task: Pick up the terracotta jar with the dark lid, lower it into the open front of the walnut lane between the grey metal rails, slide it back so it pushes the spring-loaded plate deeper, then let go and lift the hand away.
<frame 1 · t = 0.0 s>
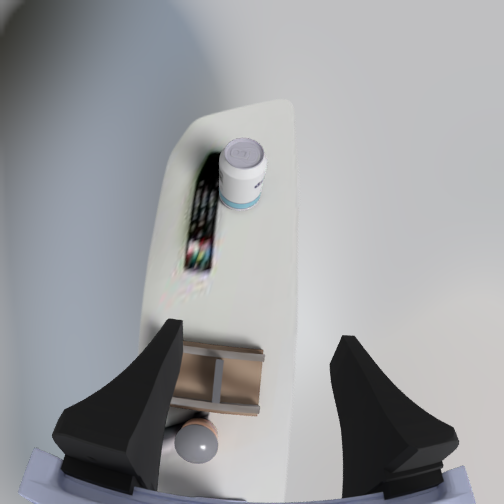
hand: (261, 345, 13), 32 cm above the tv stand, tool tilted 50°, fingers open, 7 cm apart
beverage can: (239, 196, 53), on the tv stand
lane: (211, 378, 42), on the tv stand
pusher plate: (218, 380, 39), point 3 cm above the tv stand, slide at 0.0 cm
jar: (199, 434, 39), on the tv stand
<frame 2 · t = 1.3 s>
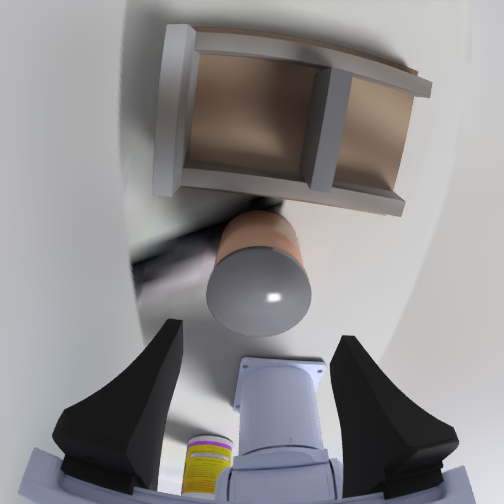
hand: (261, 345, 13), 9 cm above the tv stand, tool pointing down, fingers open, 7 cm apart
lane: (295, 118, 17), on the tv stand
pusher plate: (323, 126, 15), point 3 cm above the tv stand, slide at 0.0 cm
jar: (259, 246, 22), on the tv stand
supplement bottle: (212, 442, 37), on the tv stand
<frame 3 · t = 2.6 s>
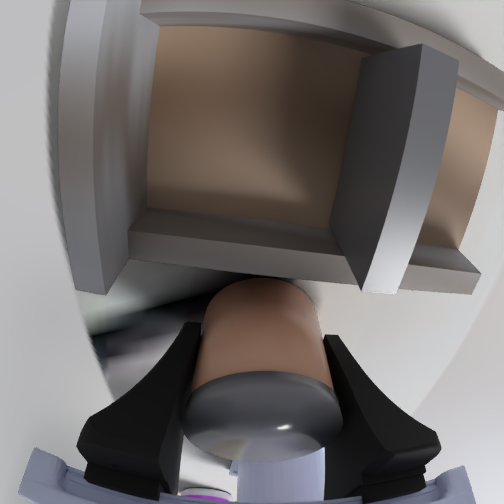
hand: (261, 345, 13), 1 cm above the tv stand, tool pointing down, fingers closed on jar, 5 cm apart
lane: (323, 134, 10), on the tv stand
pusher plate: (383, 158, 8), point 3 cm above the tv stand, slide at 0.0 cm
jar: (260, 324, 15), on the tv stand, touching gripper
supplement bottle: (207, 492, 30), on the tv stand
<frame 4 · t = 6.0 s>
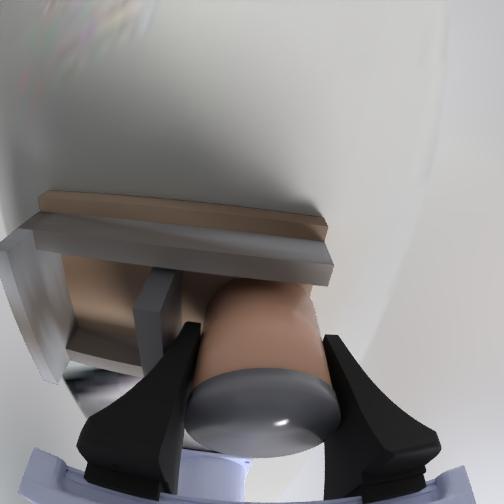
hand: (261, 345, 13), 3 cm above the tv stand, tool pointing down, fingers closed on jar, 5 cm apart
lane: (171, 288, 16), on the tv stand
pusher plate: (163, 332, 13), point 3 cm above the tv stand, slide at 0.7 cm, touching gripper
jar: (260, 321, 15), point 2 cm above the tv stand, touching gripper
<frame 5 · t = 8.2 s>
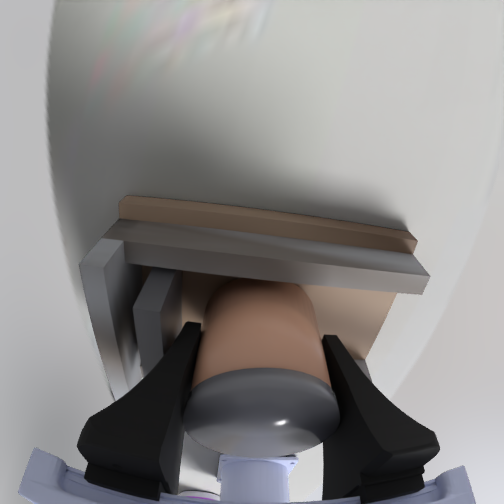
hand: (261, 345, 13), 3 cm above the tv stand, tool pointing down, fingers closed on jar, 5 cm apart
lane: (260, 299, 16), on the tv stand
pusher plate: (163, 332, 13), point 3 cm above the tv stand, slide at 5.4 cm, touching gripper
jar: (259, 321, 15), point 2 cm above the tv stand, touching gripper
supplement bottle: (201, 494, 36), on the tv stand
when the fingers open (3 cm above the tv stand, at t = 8.5 s): jar stays where it is, resting on lane.
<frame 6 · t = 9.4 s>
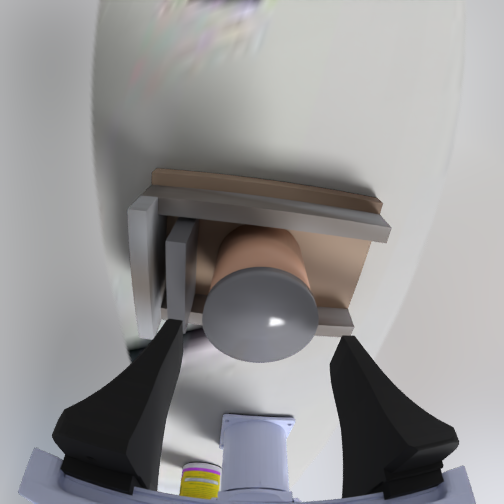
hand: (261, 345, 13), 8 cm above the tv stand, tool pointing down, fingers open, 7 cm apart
lane: (259, 252, 21), on the tv stand
pusher plate: (182, 271, 18), point 3 cm above the tv stand, slide at 5.4 cm
jar: (259, 260, 20), point 1 cm above the tv stand, touching lane
supplement bottle: (204, 467, 40), on the tv stand
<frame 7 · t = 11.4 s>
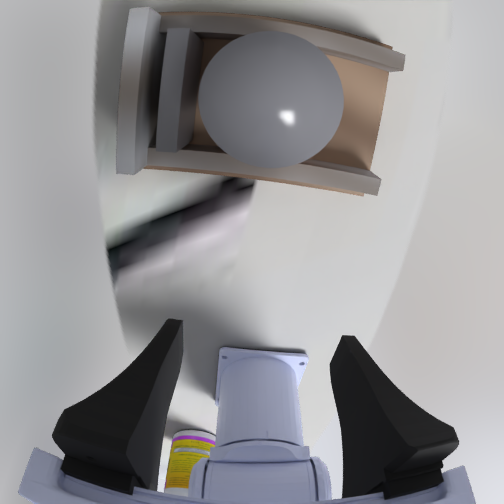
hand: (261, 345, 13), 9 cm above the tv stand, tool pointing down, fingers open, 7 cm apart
lane: (265, 97, 17), on the tv stand
pusher plate: (181, 89, 14), point 3 cm above the tv stand, slide at 5.3 cm
jar: (265, 98, 16), point 1 cm above the tv stand, touching lane
supplement bottle: (197, 437, 36), on the tv stand
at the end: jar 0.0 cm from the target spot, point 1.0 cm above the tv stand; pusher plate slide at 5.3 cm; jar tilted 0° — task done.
